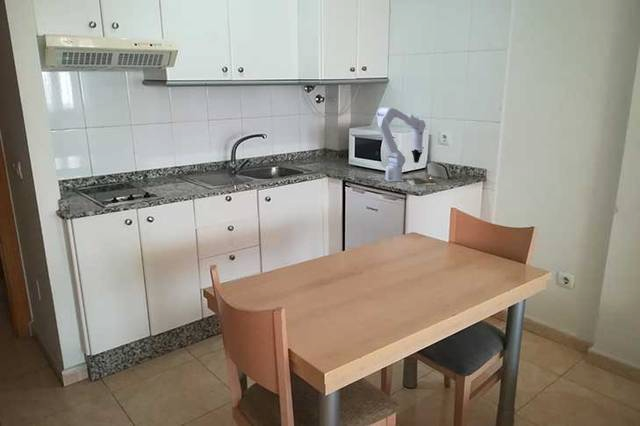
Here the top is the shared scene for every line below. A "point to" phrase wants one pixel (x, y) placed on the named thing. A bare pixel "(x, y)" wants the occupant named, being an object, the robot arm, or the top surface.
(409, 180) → the base board
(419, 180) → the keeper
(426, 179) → the link
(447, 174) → the grey piece
